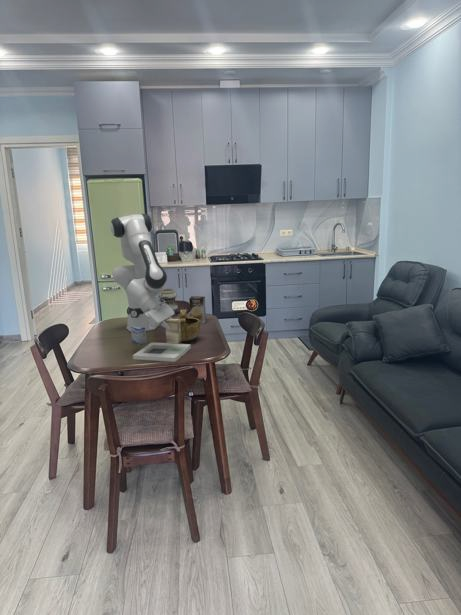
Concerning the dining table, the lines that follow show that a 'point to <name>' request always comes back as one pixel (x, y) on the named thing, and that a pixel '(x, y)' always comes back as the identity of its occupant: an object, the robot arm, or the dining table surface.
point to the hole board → (162, 352)
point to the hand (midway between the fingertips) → (172, 327)
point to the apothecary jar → (169, 298)
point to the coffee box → (198, 308)
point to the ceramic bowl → (188, 327)
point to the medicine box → (138, 334)
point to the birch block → (173, 331)
